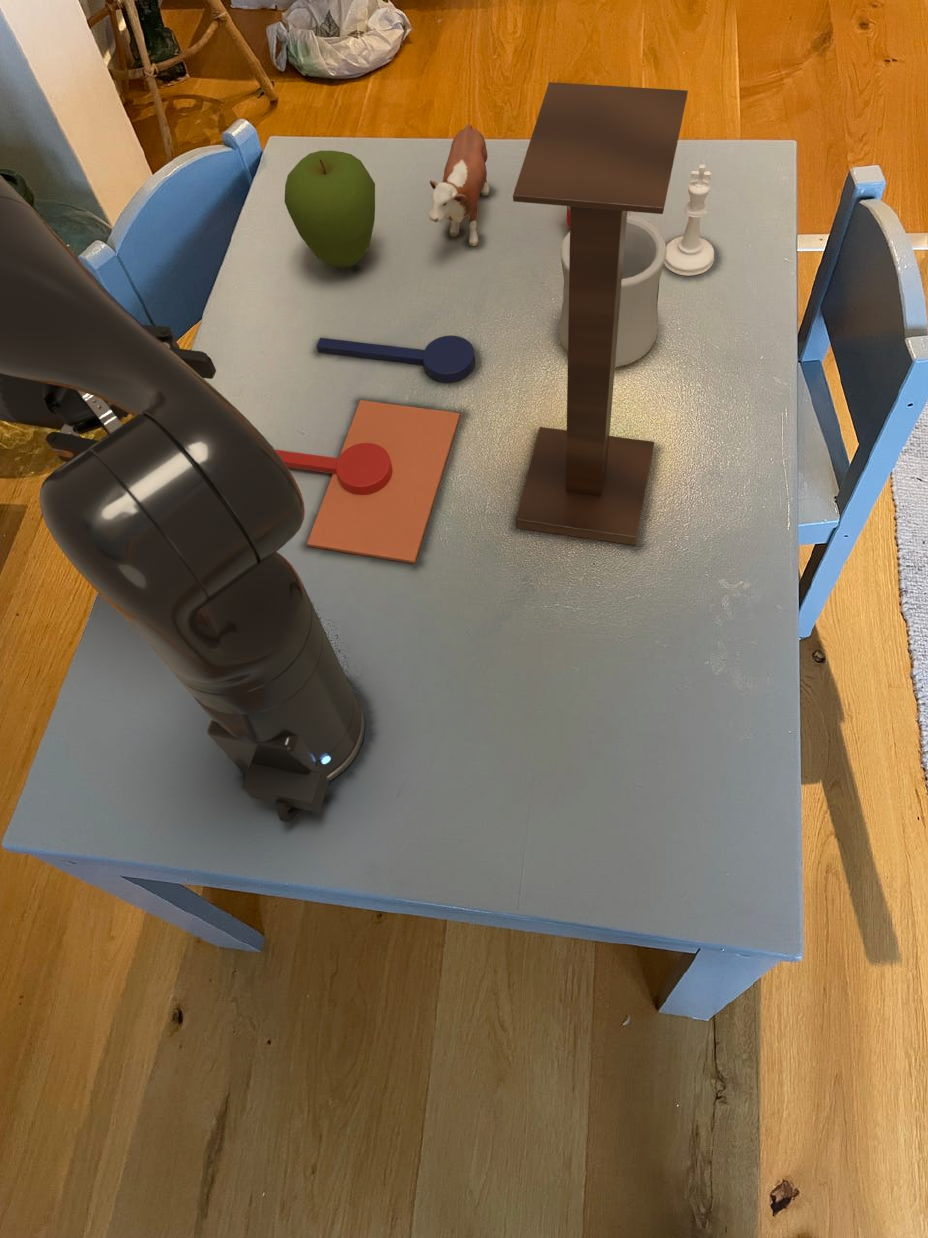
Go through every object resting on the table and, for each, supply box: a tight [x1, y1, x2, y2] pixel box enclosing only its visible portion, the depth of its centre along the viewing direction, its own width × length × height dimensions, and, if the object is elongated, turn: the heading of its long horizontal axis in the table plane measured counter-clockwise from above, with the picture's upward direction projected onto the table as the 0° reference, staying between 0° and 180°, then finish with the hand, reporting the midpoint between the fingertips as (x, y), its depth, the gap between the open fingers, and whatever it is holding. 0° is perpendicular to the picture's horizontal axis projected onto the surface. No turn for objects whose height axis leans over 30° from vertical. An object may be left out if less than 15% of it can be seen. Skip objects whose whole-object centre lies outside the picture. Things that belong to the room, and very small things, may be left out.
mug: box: [558, 214, 667, 368], centre depth 84 cm, size 12×9×10 cm
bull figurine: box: [428, 124, 490, 247], centre depth 93 cm, size 4×13×8 cm, turn 166°
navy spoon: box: [316, 335, 476, 384], centre depth 88 cm, size 5×15×1 cm, turn 76°
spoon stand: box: [512, 81, 689, 546], centre depth 65 cm, size 10×10×32 cm
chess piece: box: [664, 164, 715, 277], centre depth 87 cm, size 5×5×10 cm
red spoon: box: [274, 443, 392, 495], centre depth 82 cm, size 5×15×1 cm, turn 77°
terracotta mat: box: [306, 399, 461, 564], centre depth 81 cm, size 16×10×1 cm, turn 166°
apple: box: [284, 150, 376, 269], centre depth 90 cm, size 9×8×12 cm
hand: (194, 404), depth 79 cm, fingers open, 8 cm apart
